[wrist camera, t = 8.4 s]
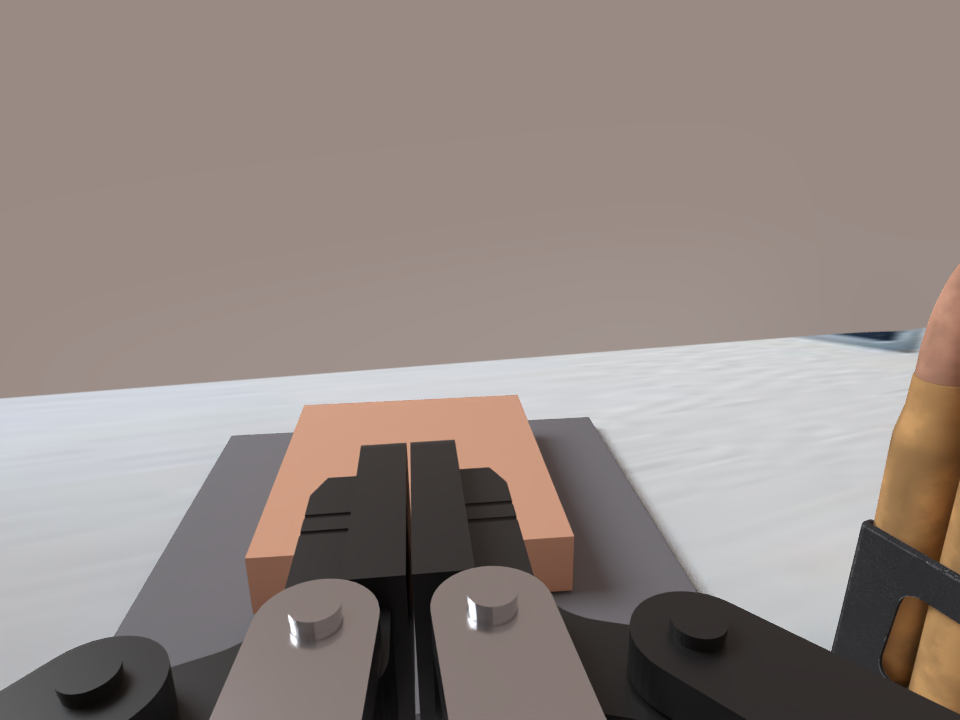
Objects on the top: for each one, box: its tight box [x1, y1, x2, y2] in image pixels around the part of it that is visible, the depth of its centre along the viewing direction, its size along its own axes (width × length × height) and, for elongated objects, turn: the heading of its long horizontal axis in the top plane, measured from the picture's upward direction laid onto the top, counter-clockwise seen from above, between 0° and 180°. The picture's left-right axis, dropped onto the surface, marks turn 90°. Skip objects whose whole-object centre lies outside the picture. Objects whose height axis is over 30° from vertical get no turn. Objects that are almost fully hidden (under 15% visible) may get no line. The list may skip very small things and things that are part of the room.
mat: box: [114, 417, 697, 720], centre depth 26 cm, size 18×18×1 cm
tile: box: [245, 395, 574, 614], centre depth 27 cm, size 10×2×12 cm
